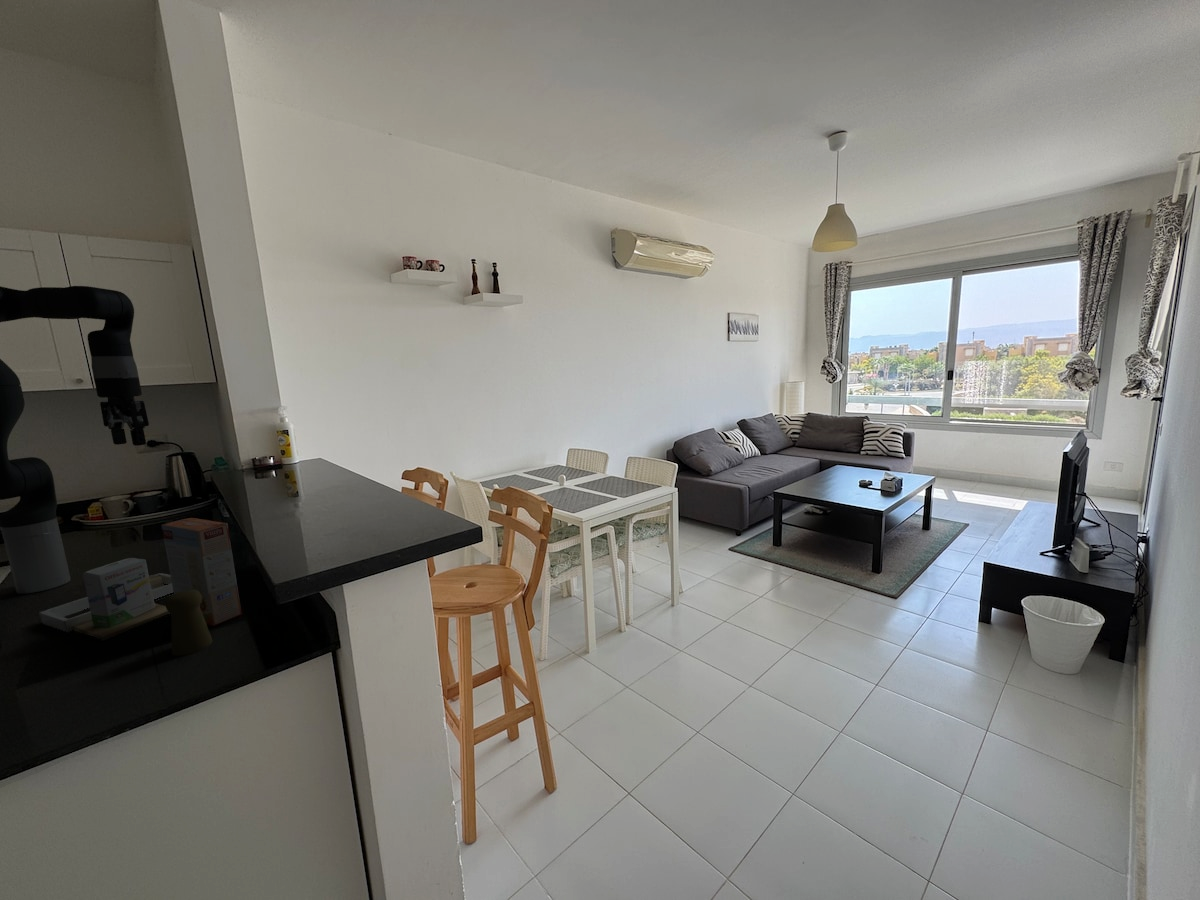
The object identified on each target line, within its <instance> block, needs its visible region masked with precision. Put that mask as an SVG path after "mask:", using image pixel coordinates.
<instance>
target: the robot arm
mask: <svg viewBox="0 0 1200 900" xmlns="http://www.w3.org/2000/svg"><path fill="white" fill-rule="evenodd" d="M134 317H135V308H134V304H133V302H132V300H131V298H130V297H128V295H126V294H125V293H124V292H122V291H119V290H115V289H109V288H102V287H95V286H89V285H88V286H87V285H73V286H72V285H71V286H65V287H54V286H53V287H52V286H51V287H49V286H48V287H44V286H43V287H33V288H29V289H26V290H20V289H15V288H9V287H5V286H1V285H0V323H4V322H5V323H6V322H11V321H17V320H22V319H23V320H24V319H28V318H30V319H31V318H38V319H48V320H49V319H52V320H54V319H55V320H78V319H79V320H80V319H91V320H92V319H93V320H101V321H102V320H103V321H104V326H103V328H102V329H99V330H98V329H97V330H92V331H89V333H87V343H88V348H89V353H90V358H91V371H92V376H93V380H94V381H93V382H94V386H95V390H96V395H97V397H98V398H100V399H102V398H107V401H100V402H99V405H100V410H101V411H100V412H101V417H102V422H103V423H102V424H103V426H104V427H107V428H108V430H110V433H111V436H112V437H111V438H112V442H113V445H115V446H117V445H119V446H120V445H125V444H127V437H126V431H125V428H124V427H125V424H126V425H127V426H128V428H129V429H130V430H129V431H130V437H131V442H132V445H133V446H144V445H146V444H147V442H146V435H145V430H144V429H146V427H149V425H150V423H149V419H148V414H147V410H146V405H145V401H144V400H136V399H135V397H140V396H142V393H143V392H142V387H141V382H140V377H139V372H138V371H139V370H138V367H137V364H136V361H135V358H134V353H133V348H132V343H131V335H132V331H133V324H134ZM25 404H26V403H25V398H24V394H23V388H22V385H21V381H20V378H19V377H18V375H17V373H16V372H15V371H14V370H13V369H12V368H11V367H10V366H9V365H8V364H7V363H5V361H3V359H1V358H0V501H2V500H9V499H14V498H18V497H19V501H18V502H17V503H16V504H15V505H14V506H13V507H11V508H10V509H8V510H6V511H4V512H3V513H1V514H0V530H1V534H2V539H3V542H4V545H5V546H4V547H5V551H6V554H7V558H8V563H9V566H10V570H11V575H12V578H13V579H12V580H13V583H14V586H15V591H16V594H21V595H24V594H32V593H33V594H34V593H39V592H43V591H47V590H51V589H54V588H57V587H60V586H62V585H65V584H67V583H69V582H70V581H71V574H70V571H69V566H68V562H67V556H66V553H65V548H64V545H63V543H64V542H63V540H62V535H61V531H60V527H59V522H58V518H57V512H56V511H57V507H58V501H57V495H56V487H55V480H54V475H53V473H52V470H51V467H50V466H49V464H48V463H47V462H46V461H45V460H43V459H42V458H39V457H33V456H29V457H28V456H27V457H21V458H14V459H9V453H8V441H9V437H10V435H11V433H12V432H13V431H12V430H13V429H14V427H15V426H16V424H17V422H19V419H20V417H21V416H22V414H23V412H24V409H25Z"/></svg>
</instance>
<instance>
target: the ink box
mask: <svg viewBox="0 0 1200 900" xmlns="http://www.w3.org/2000/svg"><path fill="white" fill-rule="evenodd" d="M149 576H150V575H149V571H148V565H147V559H143V558H136V557H128V558H125V559H124V558H123V559H121V560H118V561H114V562H111V563H107V564H105V565H103V566H102V565H101V566H98V567H95V568H92V569H89V570H87V571H85V572H84V573H82V578H83V583H84V587H85V592H86V597H88V602H89V607H90V608H89V612H91V616H92V621H93V625H94V626H102V627H109V628H110V627H113V626H115V625H118V624H120V623H122V622H124V621H127V620H129V619H131V618H133V617H136V616H138V615H140V614H142V613H145V612H147V611H149V610H151V609H154V608H155V604H154V603H155V601H154V599H153V594H152V589H151V585H150V580H149Z"/></svg>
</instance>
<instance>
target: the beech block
mask: <svg viewBox="0 0 1200 900" xmlns="http://www.w3.org/2000/svg"><path fill="white" fill-rule="evenodd" d="M155 575H156V574H150V575H149V580H150V585H151V589H152V590H153V589H156V588H159V587H162V586H164V584H163V583H162V577H159V576H155Z"/></svg>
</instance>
